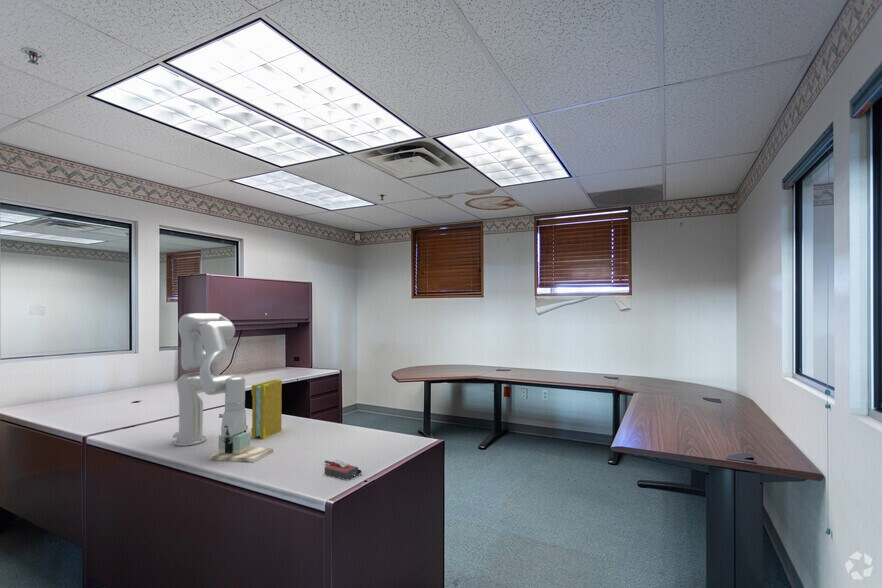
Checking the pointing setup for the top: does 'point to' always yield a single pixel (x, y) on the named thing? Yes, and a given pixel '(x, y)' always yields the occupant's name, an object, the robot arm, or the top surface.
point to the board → (244, 455)
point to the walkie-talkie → (341, 469)
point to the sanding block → (237, 443)
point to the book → (266, 408)
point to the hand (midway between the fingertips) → (234, 449)
